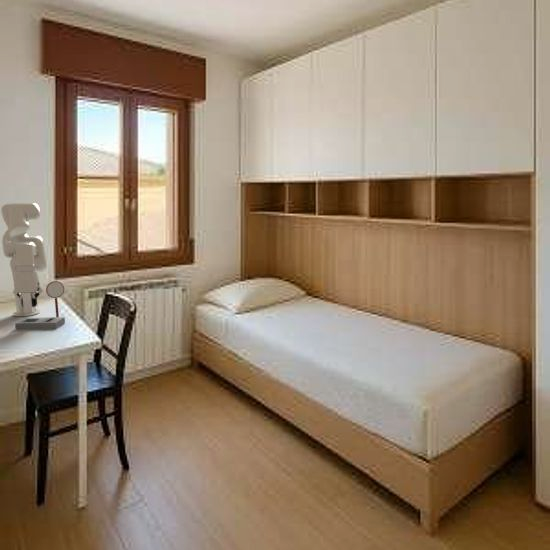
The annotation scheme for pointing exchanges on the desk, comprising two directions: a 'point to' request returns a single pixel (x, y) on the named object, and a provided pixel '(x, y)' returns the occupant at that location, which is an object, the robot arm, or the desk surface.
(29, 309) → the square peg
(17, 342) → the desk surface
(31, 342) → the desk surface
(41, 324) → the bore block
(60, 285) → the magnifying glass
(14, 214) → the robot arm
